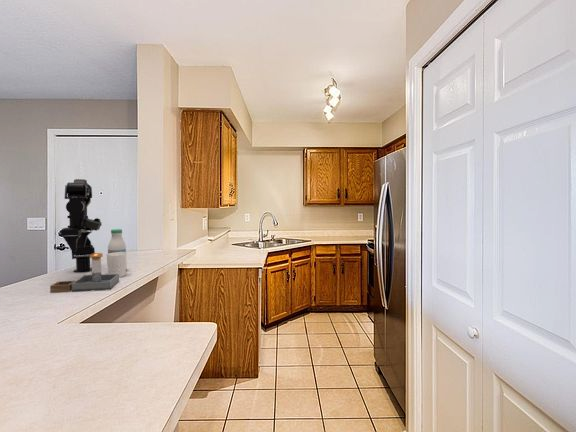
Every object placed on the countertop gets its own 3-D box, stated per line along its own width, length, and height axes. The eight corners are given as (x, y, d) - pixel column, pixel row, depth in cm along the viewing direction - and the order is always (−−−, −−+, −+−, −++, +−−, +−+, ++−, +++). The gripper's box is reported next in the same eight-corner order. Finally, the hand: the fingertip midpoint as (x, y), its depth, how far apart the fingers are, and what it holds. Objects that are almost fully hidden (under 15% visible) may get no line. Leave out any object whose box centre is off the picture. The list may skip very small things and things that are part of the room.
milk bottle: (108, 270, 157) (107, 228, 156) (126, 269, 161) (125, 228, 159) (107, 274, 150) (106, 230, 149) (126, 272, 154) (125, 229, 152)
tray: (84, 282, 136) (84, 275, 136) (118, 280, 139) (118, 273, 139) (72, 291, 123) (71, 283, 123) (110, 289, 126) (110, 282, 126)
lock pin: (90, 283, 132) (89, 253, 131) (102, 281, 134) (102, 252, 133) (90, 286, 128) (89, 255, 127) (103, 284, 130) (103, 254, 130)
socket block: (57, 287, 128) (57, 281, 128) (76, 286, 129) (76, 280, 129) (50, 292, 122) (50, 286, 122) (69, 291, 123) (69, 285, 123)
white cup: (130, 274, 151) (130, 252, 150) (120, 278, 143) (119, 255, 142) (114, 273, 152) (113, 252, 151) (103, 277, 144) (102, 255, 143)
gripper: (91, 214, 129) (92, 253, 130) (105, 211, 148) (106, 246, 149) (59, 214, 127) (60, 254, 128) (77, 211, 145) (78, 246, 146)
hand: (78, 250), depth 138 cm, fingers open, 9 cm apart
